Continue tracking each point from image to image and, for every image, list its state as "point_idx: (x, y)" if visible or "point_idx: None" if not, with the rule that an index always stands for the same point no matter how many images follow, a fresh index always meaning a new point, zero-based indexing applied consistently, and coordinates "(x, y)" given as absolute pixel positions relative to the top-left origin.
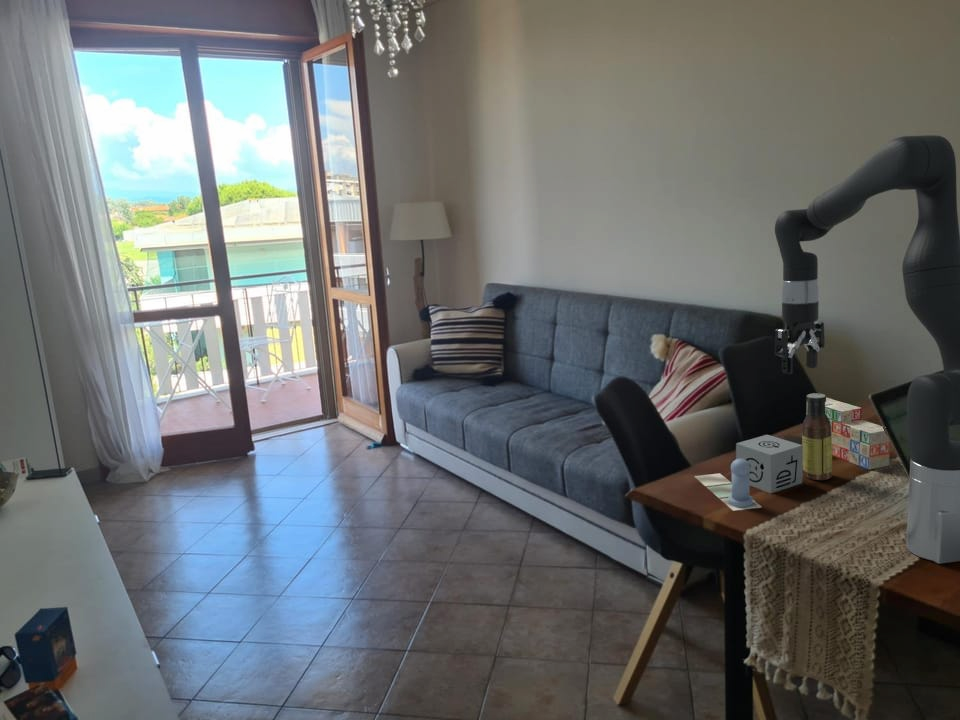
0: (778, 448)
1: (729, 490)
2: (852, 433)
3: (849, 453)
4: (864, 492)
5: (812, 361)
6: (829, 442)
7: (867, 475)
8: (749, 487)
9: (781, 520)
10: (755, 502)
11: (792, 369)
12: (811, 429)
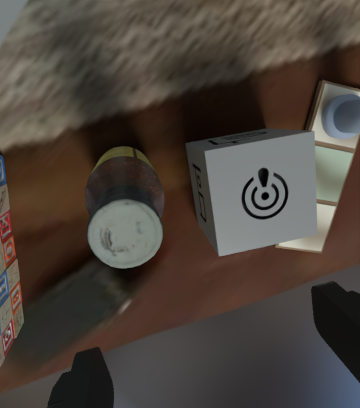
0: (268, 160)
1: (317, 172)
2: None
3: (1, 214)
4: (99, 62)
5: (97, 395)
6: (113, 155)
7: (27, 132)
8: (354, 104)
9: (321, 34)
10: (320, 106)
11: (331, 296)
12: (159, 181)
